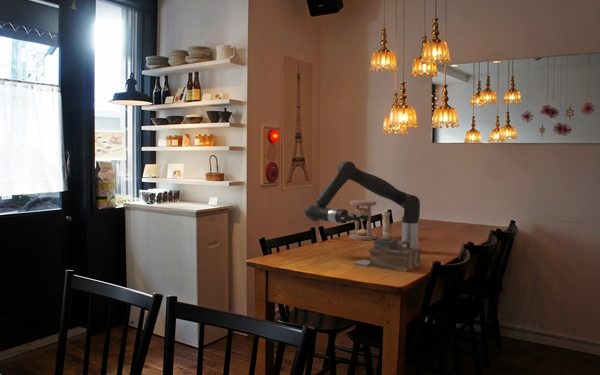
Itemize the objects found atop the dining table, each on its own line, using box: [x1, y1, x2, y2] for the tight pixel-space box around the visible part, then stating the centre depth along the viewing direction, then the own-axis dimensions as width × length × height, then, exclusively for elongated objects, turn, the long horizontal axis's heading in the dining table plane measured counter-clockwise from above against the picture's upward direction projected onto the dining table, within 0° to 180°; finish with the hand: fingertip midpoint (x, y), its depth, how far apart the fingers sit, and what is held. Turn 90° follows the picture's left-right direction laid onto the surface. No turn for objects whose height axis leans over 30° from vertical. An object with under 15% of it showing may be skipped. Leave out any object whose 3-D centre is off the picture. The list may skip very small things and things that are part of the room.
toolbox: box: [368, 237, 422, 273], centre depth 262 cm, size 17×21×13 cm
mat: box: [353, 259, 370, 267], centre depth 268 cm, size 10×8×1 cm
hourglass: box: [349, 199, 377, 241], centre depth 347 cm, size 18×18×25 cm
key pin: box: [381, 211, 391, 241], centre depth 265 cm, size 4×4×18 cm
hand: (364, 218), depth 272 cm, fingers open, 8 cm apart
